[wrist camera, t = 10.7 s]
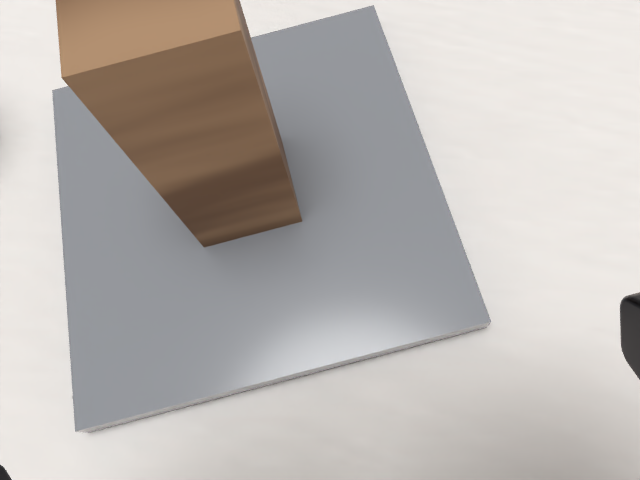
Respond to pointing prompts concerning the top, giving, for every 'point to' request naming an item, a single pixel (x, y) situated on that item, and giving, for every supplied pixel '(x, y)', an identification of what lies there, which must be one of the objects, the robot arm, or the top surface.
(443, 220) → the slate plate
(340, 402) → the top surface
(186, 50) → the brown wooden block
